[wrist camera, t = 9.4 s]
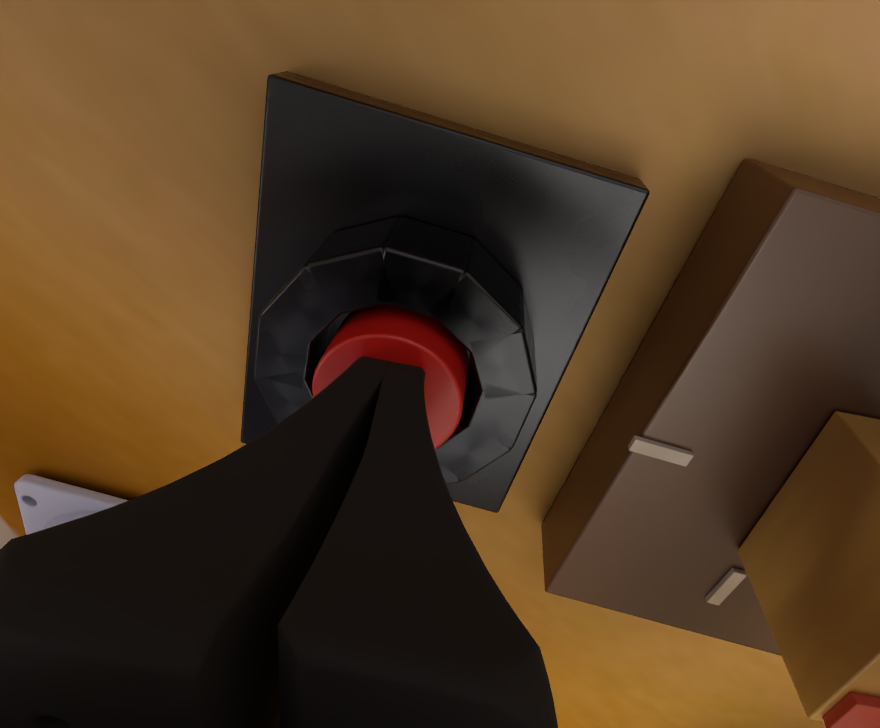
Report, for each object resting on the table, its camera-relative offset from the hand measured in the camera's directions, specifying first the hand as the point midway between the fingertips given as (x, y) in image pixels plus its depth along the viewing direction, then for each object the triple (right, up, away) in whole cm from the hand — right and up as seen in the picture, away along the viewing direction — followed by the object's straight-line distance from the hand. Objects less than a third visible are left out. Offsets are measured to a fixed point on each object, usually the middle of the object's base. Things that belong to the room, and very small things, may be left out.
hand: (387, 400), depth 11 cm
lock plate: (+10, -1, +3) cm, 11 cm away
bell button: (0, +1, +1) cm, 2 cm away
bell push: (0, +2, +3) cm, 4 cm away
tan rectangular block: (+10, -2, +1) cm, 10 cm away
